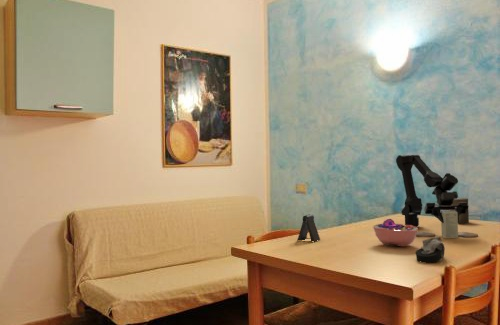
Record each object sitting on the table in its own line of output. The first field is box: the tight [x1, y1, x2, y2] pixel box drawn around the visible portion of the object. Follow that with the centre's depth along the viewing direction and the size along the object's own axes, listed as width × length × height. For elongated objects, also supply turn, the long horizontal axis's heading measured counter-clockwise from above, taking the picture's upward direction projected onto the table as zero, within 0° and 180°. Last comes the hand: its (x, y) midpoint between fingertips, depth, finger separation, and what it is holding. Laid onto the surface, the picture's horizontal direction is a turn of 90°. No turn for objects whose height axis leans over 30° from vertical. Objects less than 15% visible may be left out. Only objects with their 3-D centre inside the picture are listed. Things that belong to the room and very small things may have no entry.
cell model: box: [372, 218, 419, 247], centre depth 186 cm, size 17×20×11 cm
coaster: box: [416, 231, 436, 238], centre depth 209 cm, size 11×11×1 cm
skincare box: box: [440, 210, 459, 239], centre depth 201 cm, size 6×4×12 cm
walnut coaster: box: [458, 231, 479, 239], centre depth 205 cm, size 11×11×1 cm
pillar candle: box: [449, 197, 470, 225], centre depth 243 cm, size 10×10×15 cm
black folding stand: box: [297, 213, 321, 242], centre depth 202 cm, size 9×6×12 cm, turn 55°
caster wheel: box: [415, 236, 446, 264], centre depth 159 cm, size 7×12×10 cm
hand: (450, 222), depth 200 cm, fingers closed on skincare box, 6 cm apart
